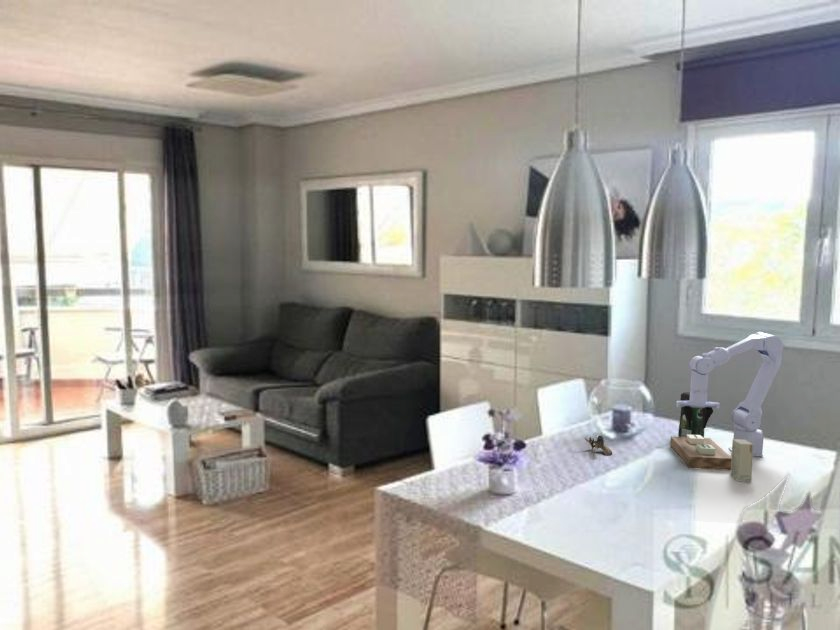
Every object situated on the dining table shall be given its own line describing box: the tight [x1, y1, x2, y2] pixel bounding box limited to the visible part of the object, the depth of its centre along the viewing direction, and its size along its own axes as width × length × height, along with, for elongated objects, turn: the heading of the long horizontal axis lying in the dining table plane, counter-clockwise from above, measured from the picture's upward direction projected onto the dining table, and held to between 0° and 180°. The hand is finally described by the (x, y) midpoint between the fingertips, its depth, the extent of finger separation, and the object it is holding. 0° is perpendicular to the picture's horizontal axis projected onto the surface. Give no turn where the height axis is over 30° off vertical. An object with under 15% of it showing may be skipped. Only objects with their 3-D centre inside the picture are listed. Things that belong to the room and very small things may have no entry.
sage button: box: [696, 444, 715, 455], centre depth 241 cm, size 5×5×4 cm
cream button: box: [686, 434, 705, 444], centre depth 253 cm, size 5×5×4 cm
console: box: [669, 436, 732, 471], centre depth 247 cm, size 14×24×4 cm, turn 175°
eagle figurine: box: [584, 435, 613, 457], centre depth 252 cm, size 8×7×9 cm
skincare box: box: [730, 438, 754, 483], centre depth 227 cm, size 6×4×12 cm
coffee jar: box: [677, 391, 705, 438], centre depth 271 cm, size 10×8×19 cm
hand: (696, 427), depth 252 cm, fingers open, 4 cm apart
